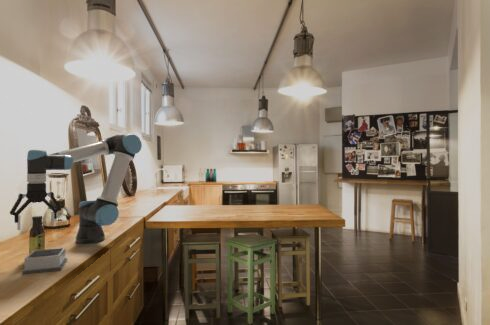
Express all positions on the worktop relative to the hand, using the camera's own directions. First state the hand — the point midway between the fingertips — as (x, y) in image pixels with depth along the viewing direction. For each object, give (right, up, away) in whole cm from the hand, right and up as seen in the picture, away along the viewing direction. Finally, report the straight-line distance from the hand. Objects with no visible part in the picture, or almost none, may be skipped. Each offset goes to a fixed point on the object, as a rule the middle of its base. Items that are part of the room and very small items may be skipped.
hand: (36, 227), depth 150 cm
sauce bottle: (0, -15, 0) cm, 15 cm away
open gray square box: (+12, -15, -12) cm, 22 cm away
